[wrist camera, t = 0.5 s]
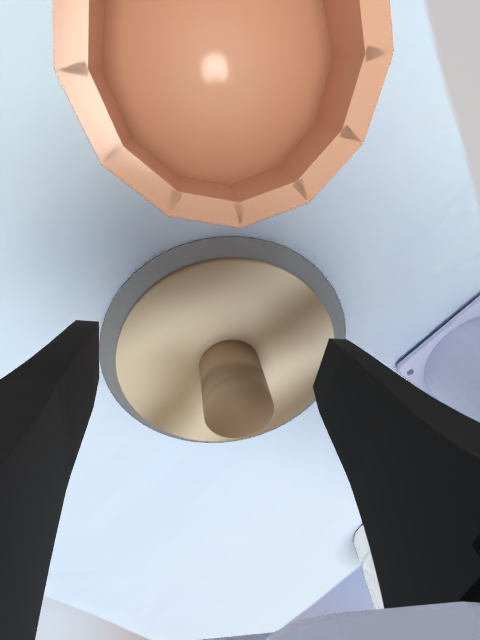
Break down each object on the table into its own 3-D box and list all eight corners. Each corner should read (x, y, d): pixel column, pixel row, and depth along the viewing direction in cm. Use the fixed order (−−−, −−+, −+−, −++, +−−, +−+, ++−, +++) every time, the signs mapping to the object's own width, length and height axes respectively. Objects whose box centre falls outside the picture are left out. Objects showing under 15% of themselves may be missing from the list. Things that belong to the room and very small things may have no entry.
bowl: (394, 57, 17) (449, 49, 14) (231, 243, 20) (242, 274, 17) (199, -229, 12) (210, -353, 9) (26, 77, 15) (-15, 74, 12)
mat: (388, 331, 25) (391, 335, 25) (236, 464, 29) (237, 469, 29) (211, 173, 18) (212, 175, 18) (50, 376, 23) (48, 380, 22)
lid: (370, 338, 24) (410, 387, 20) (236, 456, 28) (247, 518, 24) (214, 206, 19) (226, 238, 15) (72, 377, 23) (51, 441, 18)
